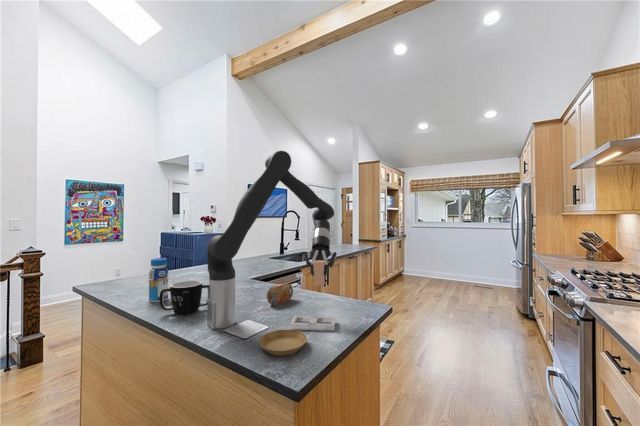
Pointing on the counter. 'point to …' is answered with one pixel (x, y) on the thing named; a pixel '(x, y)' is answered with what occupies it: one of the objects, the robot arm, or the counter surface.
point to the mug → (184, 297)
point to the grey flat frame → (312, 323)
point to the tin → (279, 294)
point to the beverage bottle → (158, 279)
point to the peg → (319, 272)
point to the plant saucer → (283, 342)
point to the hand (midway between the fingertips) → (318, 274)
